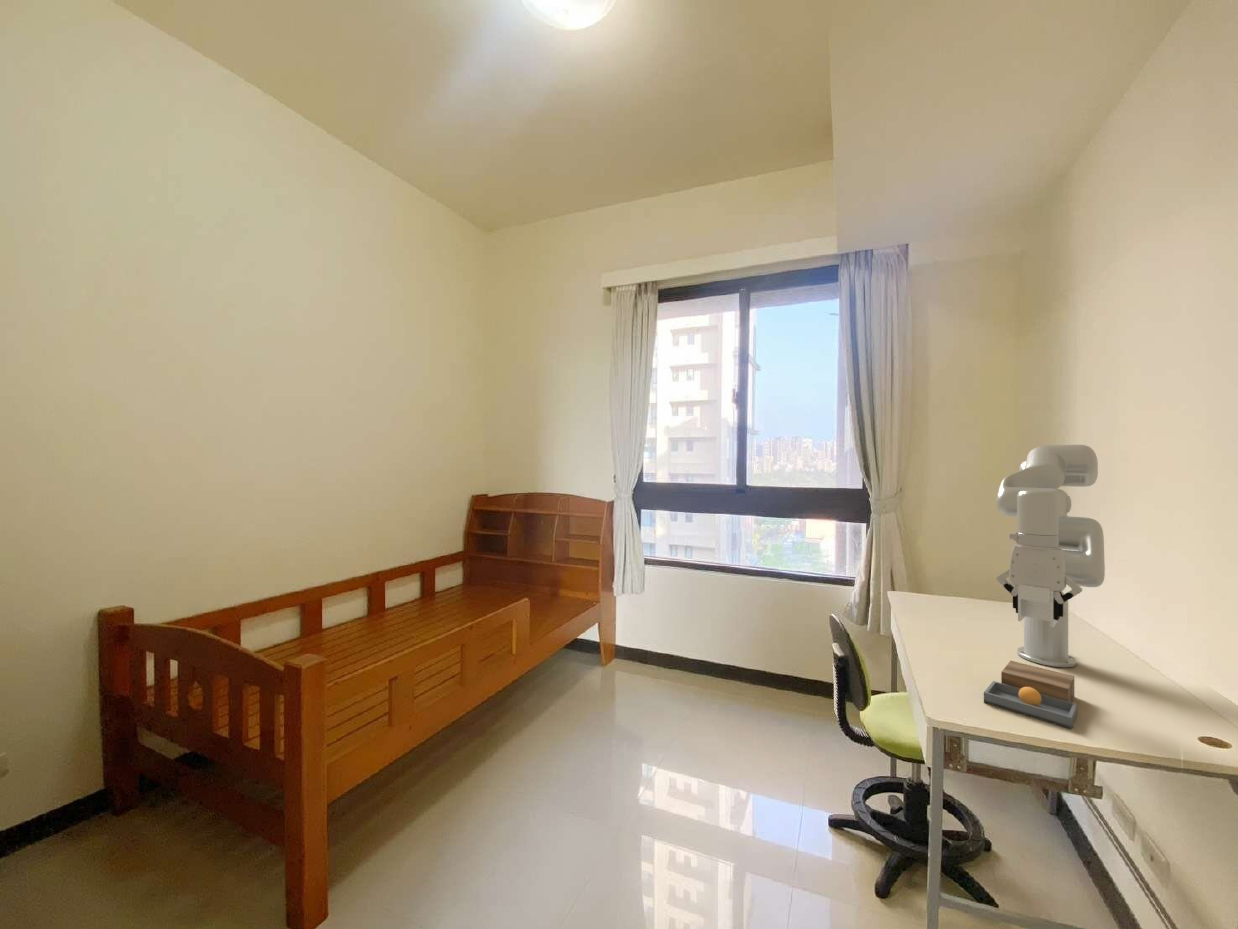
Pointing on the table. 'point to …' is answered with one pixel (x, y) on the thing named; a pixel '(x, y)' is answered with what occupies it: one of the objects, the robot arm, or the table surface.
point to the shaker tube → (1036, 603)
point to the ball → (1029, 696)
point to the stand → (1039, 680)
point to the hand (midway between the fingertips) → (1037, 614)
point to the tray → (1046, 710)
